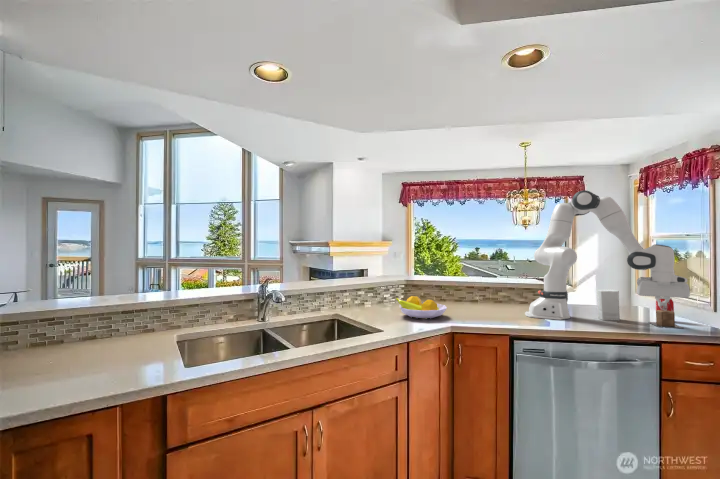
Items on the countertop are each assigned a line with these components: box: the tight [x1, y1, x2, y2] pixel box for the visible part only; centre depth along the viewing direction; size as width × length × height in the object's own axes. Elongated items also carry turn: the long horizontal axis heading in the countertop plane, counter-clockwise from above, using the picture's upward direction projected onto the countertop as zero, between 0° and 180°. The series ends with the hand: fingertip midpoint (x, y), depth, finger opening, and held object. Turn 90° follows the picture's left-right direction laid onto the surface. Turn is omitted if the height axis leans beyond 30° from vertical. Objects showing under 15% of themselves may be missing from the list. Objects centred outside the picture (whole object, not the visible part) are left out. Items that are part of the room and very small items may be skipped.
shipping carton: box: [655, 309, 676, 326], centre depth 172 cm, size 5×5×7 cm
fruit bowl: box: [395, 295, 448, 319], centre depth 199 cm, size 28×27×11 cm
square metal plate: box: [648, 321, 685, 330], centre depth 172 cm, size 10×10×6 cm
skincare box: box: [596, 289, 621, 322], centre depth 187 cm, size 8×7×16 cm
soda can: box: [655, 297, 675, 313], centre depth 182 cm, size 7×7×12 cm
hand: (662, 306), depth 172 cm, fingers closed
